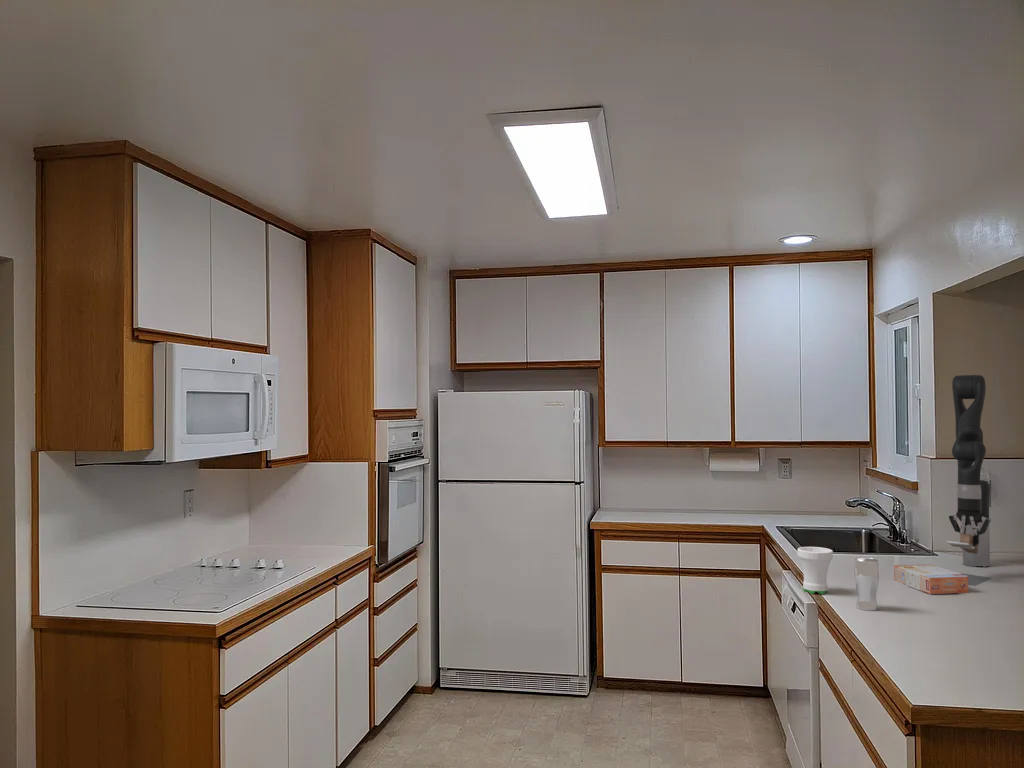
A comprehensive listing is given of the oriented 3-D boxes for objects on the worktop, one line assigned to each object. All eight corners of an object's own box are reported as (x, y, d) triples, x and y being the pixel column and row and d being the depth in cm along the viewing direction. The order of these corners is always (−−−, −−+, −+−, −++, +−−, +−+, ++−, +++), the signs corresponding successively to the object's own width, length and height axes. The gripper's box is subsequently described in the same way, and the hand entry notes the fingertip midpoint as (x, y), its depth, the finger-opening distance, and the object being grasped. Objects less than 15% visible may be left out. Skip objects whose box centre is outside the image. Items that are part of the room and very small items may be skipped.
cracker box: (893, 582, 288) (929, 594, 267) (893, 564, 288) (929, 576, 267) (930, 580, 289) (969, 593, 268) (930, 563, 289) (969, 575, 269)
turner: (962, 552, 296) (963, 538, 297) (983, 554, 291) (984, 540, 292) (946, 542, 285) (947, 528, 286) (968, 544, 280) (969, 530, 281)
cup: (836, 596, 264) (835, 553, 265) (800, 595, 267) (800, 551, 267) (829, 589, 275) (829, 547, 276) (795, 587, 278) (795, 546, 278)
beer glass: (858, 604, 254) (858, 556, 255) (882, 608, 250) (881, 559, 250) (851, 608, 249) (851, 559, 249) (875, 612, 245) (875, 562, 245)
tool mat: (959, 574, 299) (959, 573, 299) (992, 579, 291) (992, 577, 291) (940, 582, 286) (940, 580, 286) (975, 587, 278) (975, 585, 278)
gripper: (994, 497, 289) (994, 546, 289) (951, 494, 300) (952, 541, 299) (987, 499, 284) (988, 548, 284) (944, 496, 295) (945, 543, 294)
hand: (969, 544), depth 292 cm, fingers closed on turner, 3 cm apart
